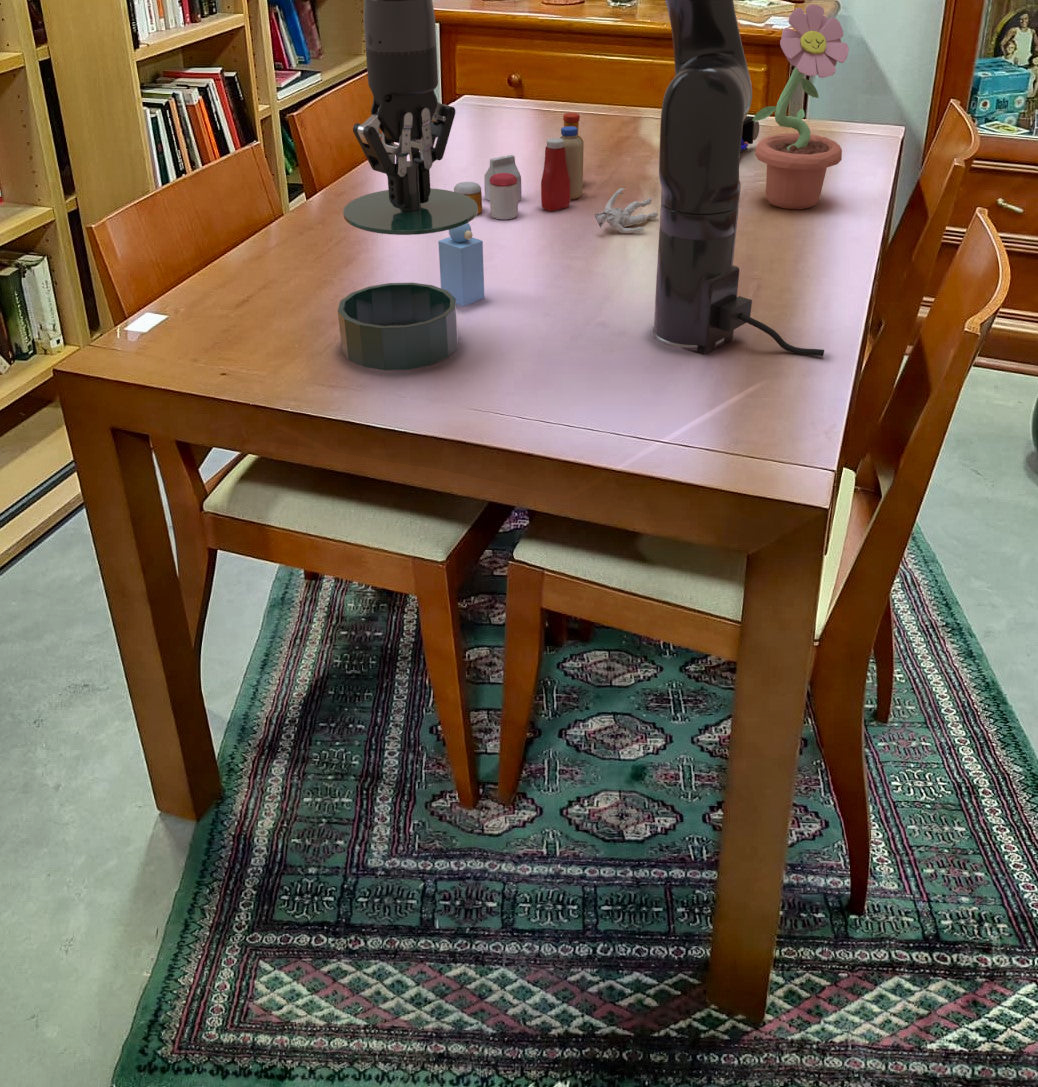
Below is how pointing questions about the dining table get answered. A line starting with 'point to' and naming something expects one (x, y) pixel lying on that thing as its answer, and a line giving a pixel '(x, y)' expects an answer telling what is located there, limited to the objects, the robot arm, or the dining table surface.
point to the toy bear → (462, 265)
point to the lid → (411, 210)
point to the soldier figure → (623, 215)
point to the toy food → (557, 179)
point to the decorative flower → (802, 113)
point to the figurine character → (749, 132)
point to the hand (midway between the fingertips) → (410, 203)
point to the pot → (398, 345)
